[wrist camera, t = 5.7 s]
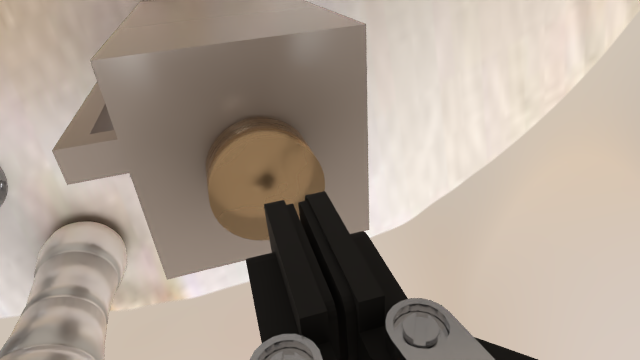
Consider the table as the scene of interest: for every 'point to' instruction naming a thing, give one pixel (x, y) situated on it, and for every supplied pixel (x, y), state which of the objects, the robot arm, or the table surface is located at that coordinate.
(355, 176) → the press pot
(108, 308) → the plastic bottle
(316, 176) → the plunger
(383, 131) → the table surface
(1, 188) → the wine glass
